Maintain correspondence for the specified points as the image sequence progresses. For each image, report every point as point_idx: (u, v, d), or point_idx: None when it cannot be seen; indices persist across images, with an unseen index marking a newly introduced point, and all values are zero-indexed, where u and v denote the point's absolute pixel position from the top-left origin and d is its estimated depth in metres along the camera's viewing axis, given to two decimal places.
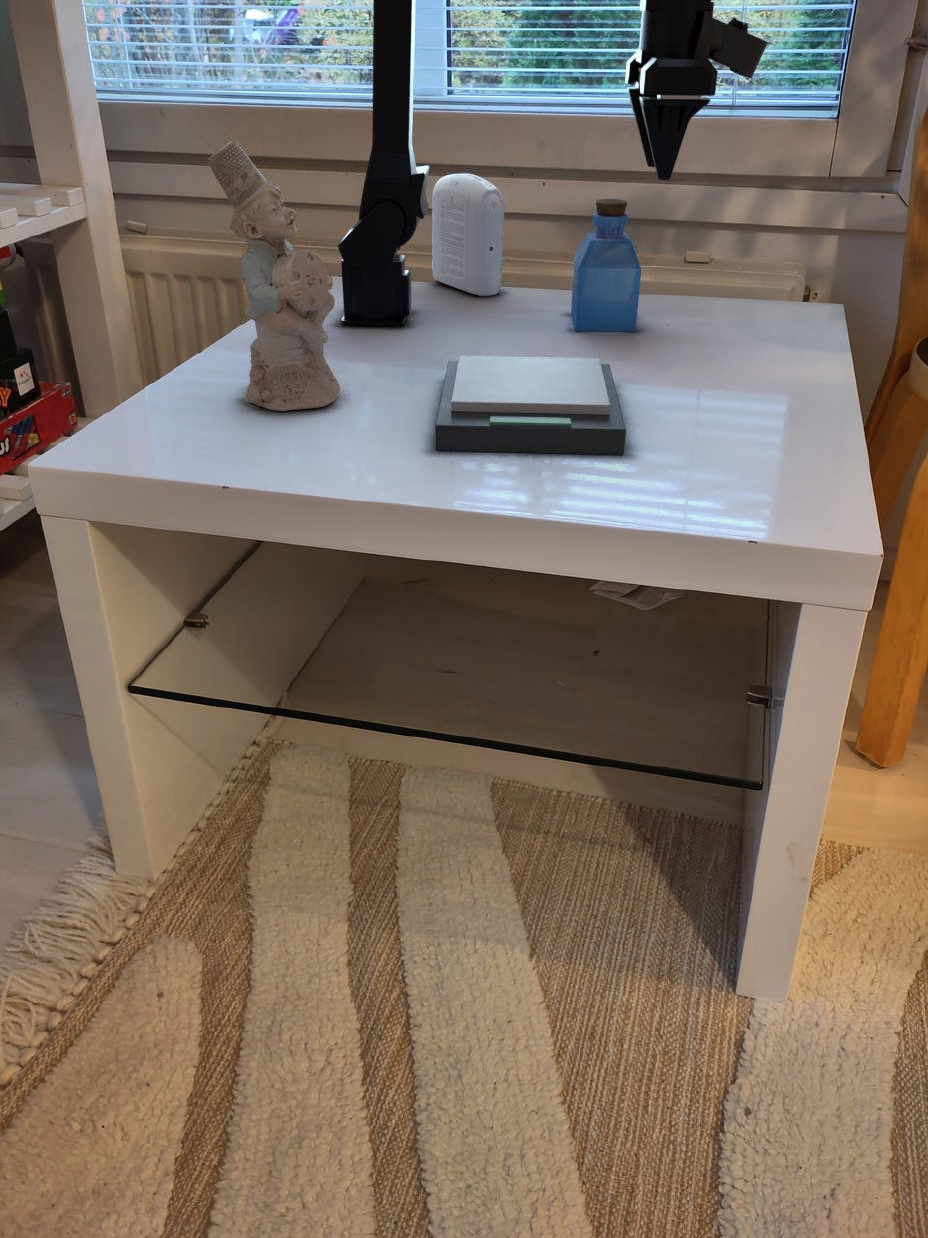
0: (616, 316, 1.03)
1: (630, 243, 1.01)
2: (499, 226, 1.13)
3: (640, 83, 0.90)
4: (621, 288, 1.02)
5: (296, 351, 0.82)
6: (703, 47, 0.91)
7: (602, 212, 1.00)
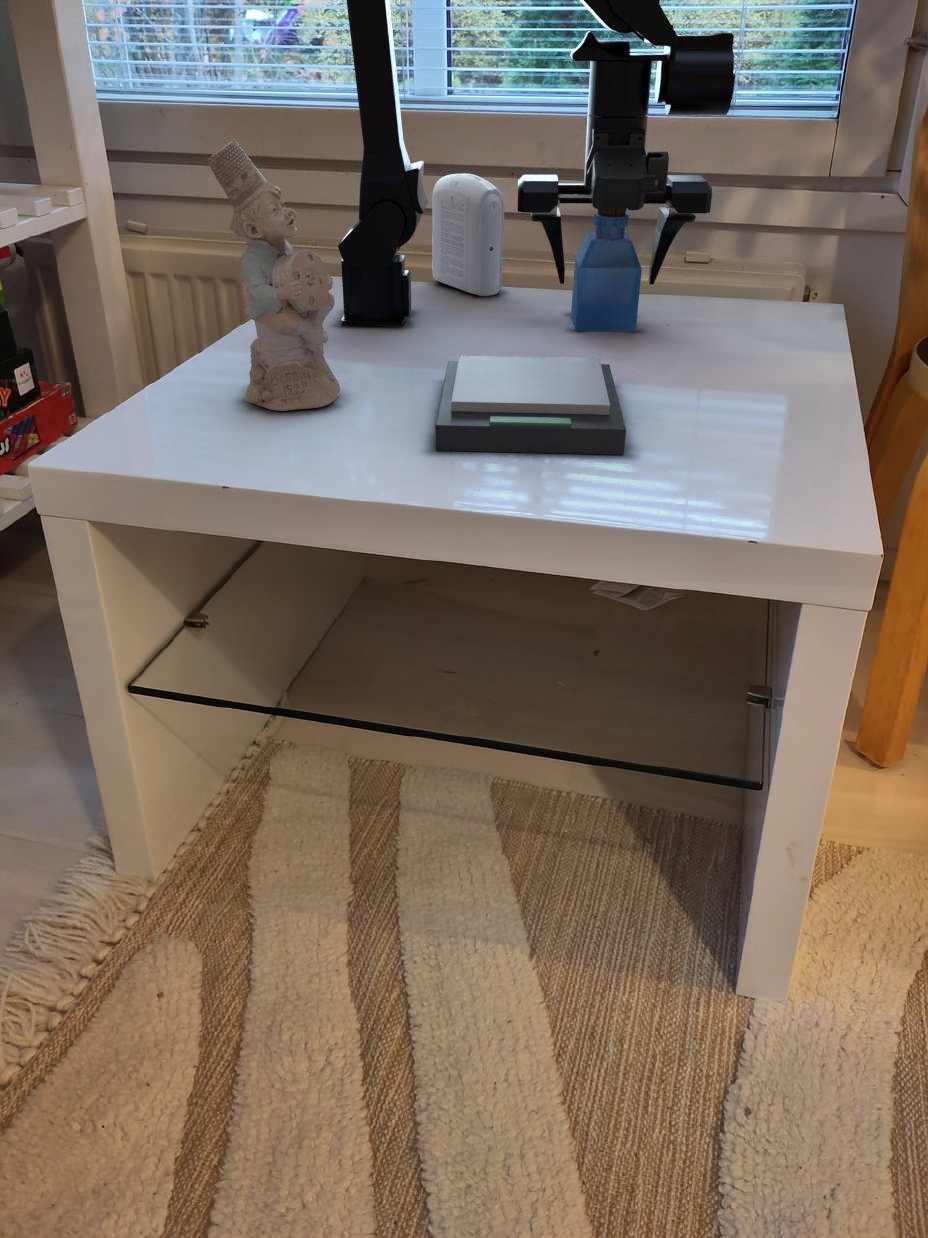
0: (616, 317, 1.03)
1: (631, 243, 1.01)
2: (499, 226, 1.13)
3: None
4: (621, 288, 1.02)
5: (296, 351, 0.82)
6: (585, 173, 0.97)
7: (603, 212, 1.00)
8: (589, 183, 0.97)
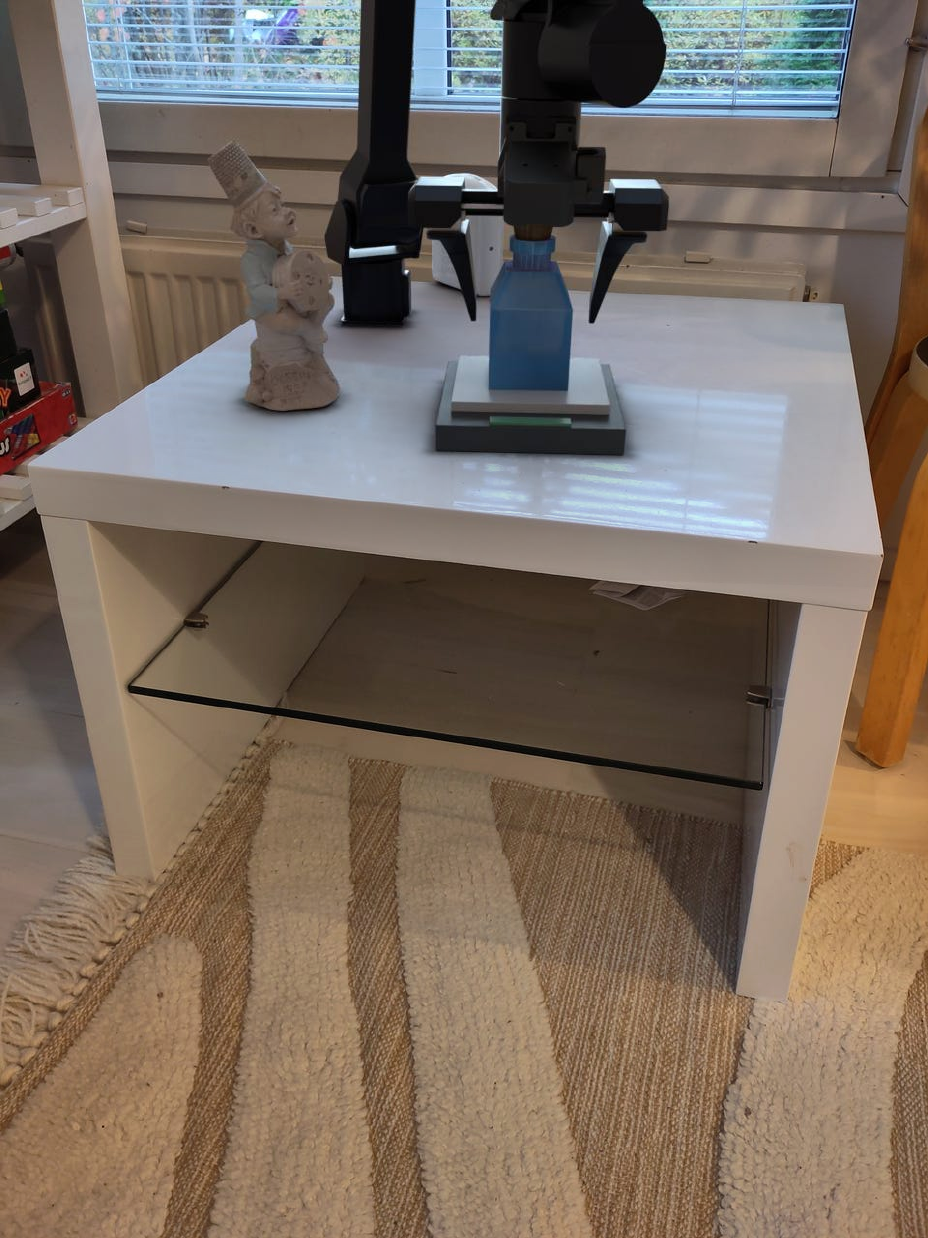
0: (541, 372, 0.78)
1: (558, 276, 0.76)
2: (499, 226, 1.13)
3: None
4: (547, 335, 0.77)
5: (296, 351, 0.82)
6: None
7: (520, 235, 0.75)
8: (502, 189, 0.71)
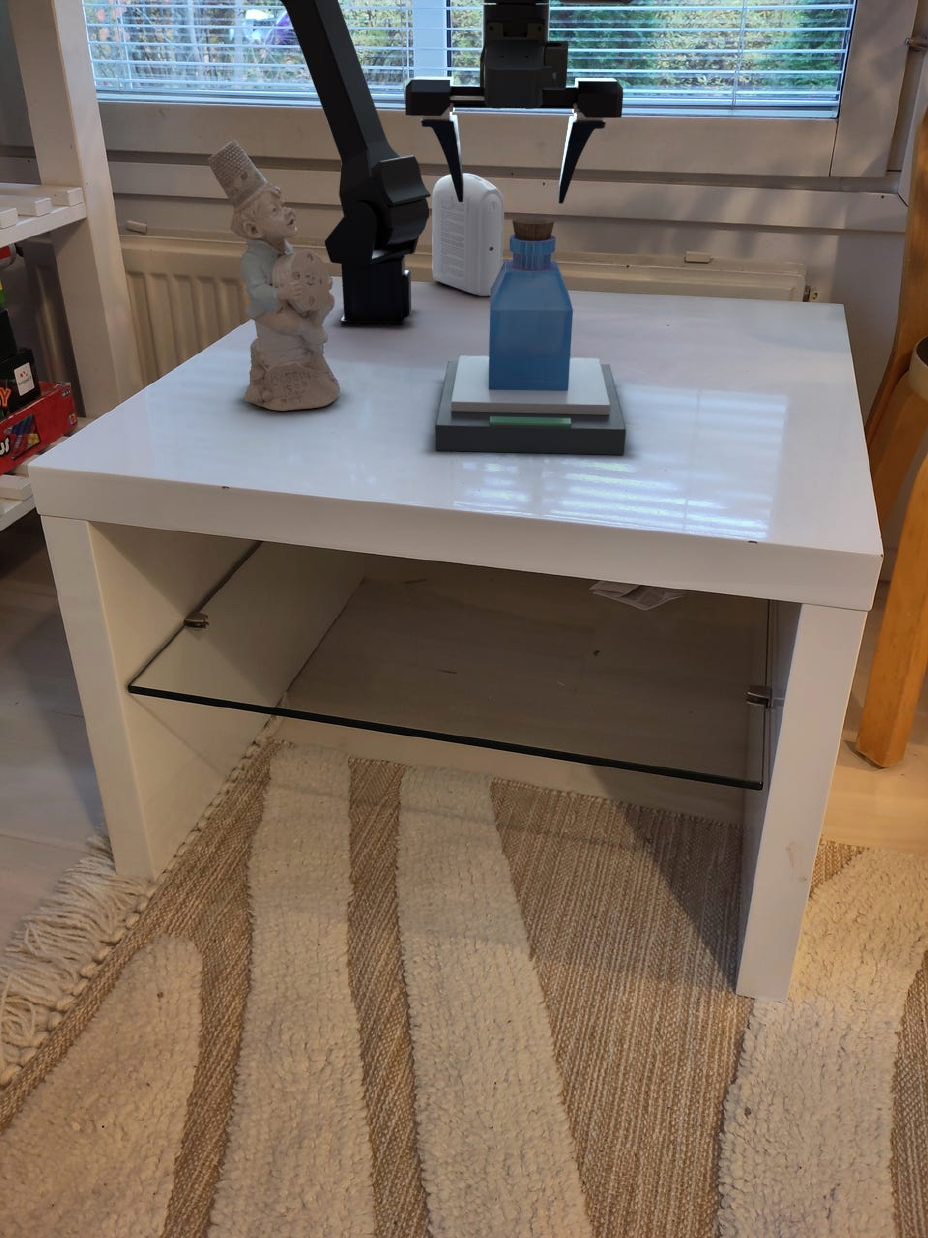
0: (541, 372, 0.78)
1: (558, 276, 0.76)
2: (499, 226, 1.13)
3: None
4: (547, 335, 0.77)
5: (296, 351, 0.82)
6: None
7: (520, 235, 0.75)
8: (484, 81, 0.86)
